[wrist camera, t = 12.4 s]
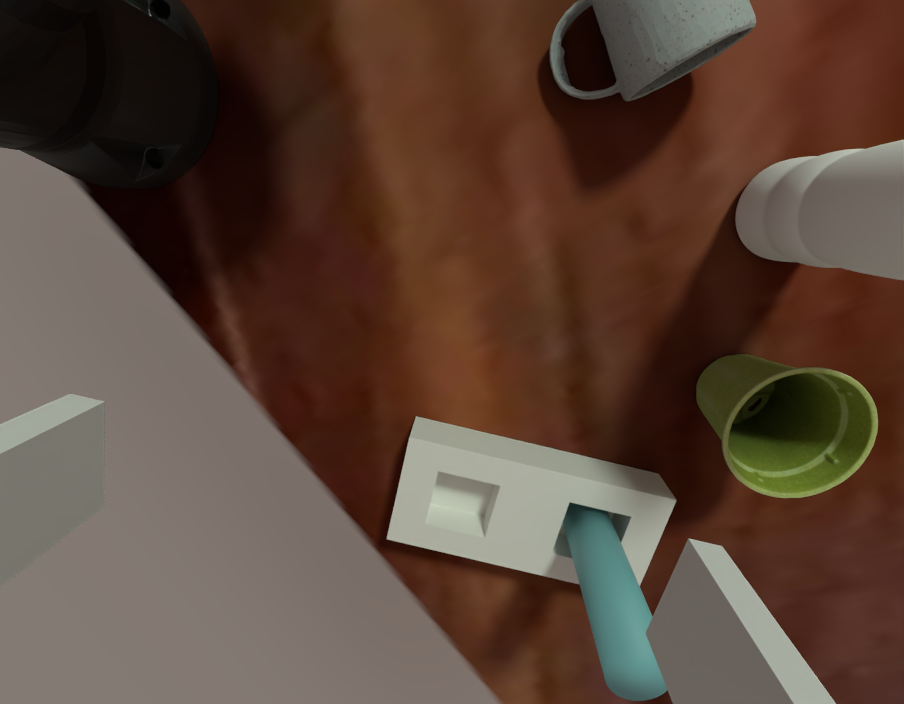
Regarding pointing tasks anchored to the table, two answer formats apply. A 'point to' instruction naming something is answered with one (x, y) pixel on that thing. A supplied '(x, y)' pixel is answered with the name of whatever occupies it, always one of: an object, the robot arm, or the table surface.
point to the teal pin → (613, 604)
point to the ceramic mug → (654, 40)
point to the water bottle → (830, 211)
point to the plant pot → (787, 423)
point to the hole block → (518, 500)
